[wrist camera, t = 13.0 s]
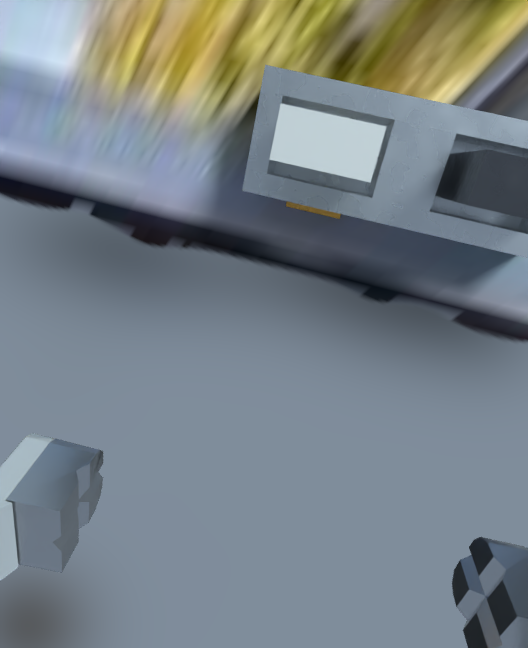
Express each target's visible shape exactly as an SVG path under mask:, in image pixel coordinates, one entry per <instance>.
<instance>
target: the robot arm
mask: <svg viewBox="0 0 528 648" xmlns="http://www.w3.org/2000/svg"><path fill="white" fill-rule="evenodd" d="M102 464H103V451H101V450H98V449H94V448H90V447H86V446H82V445H78V444H74V443H71V442H67V441H63V440H59V439H54V438H50V437H46V436H42V435H38V434H34V433H32V434H30V435H29V436H27V437H25V438H24V439H23V441H21V443H20V444H19V445H18V446H17V447H16V448H15V450H14V451H13V452H12V453H11V454H10V455H9V457H8V458H7V459H6V460H5V461H4V462H3V464H2V465H1V466H0V581H1V580H2V579H3V578H5V577H6V576H7V575H9V574H10V573H11V572H13V571H14V570H15V569H17V568H18V564H20V565H25V566H30V567H36V568H41V569H45V570H50V571H55V572H60V573H62V571H63V569H64V568H65V566H66V564H67V562H68V560H69V558H70V556H71V555H72V553H73V551H74V549H75V547H76V545H77V543H78V534H79V528H81V527H82V526H84V525H85V524H87V523H89V521H90V519H91V517H92V515H93V513H94V511H95V509H96V506H97V503H98V501H99V498H100V494H101V489H102V481H103V478H102V476H101V475H100V473H99V472H98V471H99V470H100V468H101V466H102ZM469 549H470V552H471V555H470V556H468V557H466V558H464V559H461V560H460V561H459V563H458V564H457V566H456V568H455V569H454V574H453V581H452V587H453V595H454V599H455V603H456V607H457V608H458V609H459V611H460V612H461V613H462V614H463V616H464V617H465V618H466V619H467V621H466V624H465V627H464V629H463V632H464V635H465V639H466V642H467V646H468V648H528V548H526V547H524V546H519V545H515V544H510V543H506V542H501V541H497V540H492V539H488V538H483V537H479V538H477V539H475V540H474V541H473V542H472V543H471V545H470V546H469Z"/></svg>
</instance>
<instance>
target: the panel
mask: <svg viewBox="0 0 528 648" xmlns="http://www.w3.org/2000/svg"><path fill="white" fill-rule="evenodd" d="M385 130H386V126H382V125H377V124H373V123H368V122H364V121H359V120H354V119H350V118H345V117H341V116H336V115H332V114H327V113H322V112H318V111H313V110H309V109H304V108H300V107H295V106H290V105H286V104H281V105H280V110H279V114H278V119H277V124H276V129H275V134H274V139H273V144H272V149H271V154H270V159H269V160H274V161H278V162H283V163H287V164H291V165H296V166H300V167H304V168H309V169H313V170H318V171H322V172H326V173H331V174H335V175H340V176H344V177H348V178H353V179H357V180H361V181H366V182H371V179H372V175H373V172H374V169H375V165H376V162H377V158H378V155H379V151H380V148H381V144H382V141H383V137H384V134H385Z"/></svg>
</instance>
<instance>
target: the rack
mask: <svg viewBox="0 0 528 648" xmlns="http://www.w3.org/2000/svg"><path fill="white" fill-rule="evenodd" d="M281 104H286V105H290V106H295V107H300V108H304V109H309V110H313V111H318V112H322V113H327V114H332V115H336V116H341V117H345V118H350V119H354V120H359V121H364V122H368V123H373V124H377V125H382V126H386V130H385V134H384V137H383V141H382V144H381V148H380V151H379V155H378V158H377V162H376V165H375V169H374V172H373V175H372V179H371V182H366V181H361V180H357V179H353V178H348V177H344V176H340V175H335V174H331V173H326V172H322V171H318V170H313V169H309V168H304V167H300V166H296V165H291V164H287V163H283V162H278V161H274V160H269V159H270V154H271V149H272V144H273V139H274V134H275V129H276V124H277V119H278V114H279V110H280V105H281ZM242 191H245V192H250V193H254V194H258V195H262V196H267V197H271V198H275V199H279V200H284V201H287V202H286V206H287V207H291V208H295V209H300V210H304V211H308V212H312V213H316V214H321V215H325V216H329V217H333V218H338V219H340V216H341V214H343V215H347V216H352V217H356V218H360V219H364V220H368V221H373V222H377V223H381V224H385V225H390V226H394V227H398V228H402V229H407V230H411V231H415V232H419V233H424V234H428V235H432V236H436V237H441V238H445V239H449V240H453V241H458V242H462V243H466V244H470V245H475V246H479V247H483V248H487V249H492V250H496V251H500V252H504V253H509V254H513V255H517V256H521V257H526V258H528V121H524V120H520V119H515V118H510V117H506V116H501V115H496V114H492V113H487V112H482V111H478V110H473V109H468V108H464V107H459V106H454V105H450V104H445V103H440V102H436V101H431V100H426V99H422V98H417V97H412V96H408V95H403V94H398V93H394V92H389V91H384V90H380V89H375V88H370V87H366V86H361V85H356V84H352V83H347V82H343V81H338V80H333V79H329V78H324V77H319V76H315V75H310V74H305V73H301V72H296V71H291V70H287V69H282V68H277V67H273V66H268V65H265V70H264V75H263V81H262V86H261V91H260V97H259V102H258V108H257V113H256V118H255V124H254V129H253V134H252V140H251V145H250V151H249V156H248V161H247V167H246V172H245V177H244V183H243V188H242Z"/></svg>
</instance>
